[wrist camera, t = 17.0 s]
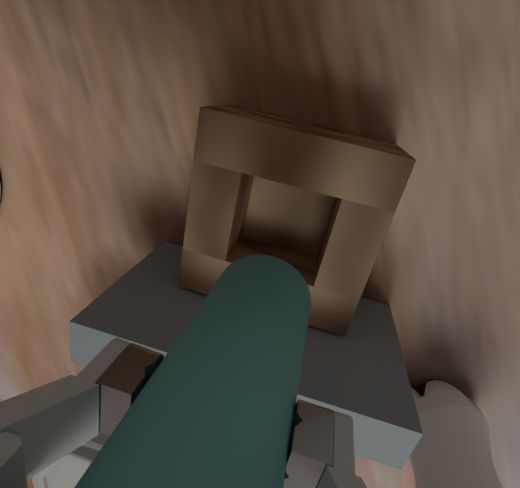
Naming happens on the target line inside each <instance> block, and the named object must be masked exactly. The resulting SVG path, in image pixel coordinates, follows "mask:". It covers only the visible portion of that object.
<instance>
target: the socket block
mask: <svg viewBox="0 0 520 488" xmlns="http://www.w3.org/2000/svg"><path fill="white" fill-rule="evenodd" d="M415 161H416V159H414V158H413V157H412V156H411V155H409V154H408V153H407V152H405V151H404V150H403V149H402V148H400V147H399V146H398V145H394V144H390V143H386V142H382V141H378V140H374V139H370V138H365V137H361V136H357V135H353V134H349V133H345V132H340V131H336V130H332V129H328V128H324V127H320V126H315V125H311V124H307V123H303V122H299V121H295V120H291V119H286V118H282V117H278V116H274V115H270V114H266V113H261V112H257V111H253V110H249V109H245V108H241V107H237V106H232V105H222V106H209V107H200V112H199V120H198V128H197V136H196V145H195V153H194V161H193V169H192V177H191V185H190V193H189V201H188V210H187V218H186V226H185V234H184V242H183V250H182V258H181V266H180V275H179V283H178V286H180V287H183V288H186V289H190V290H193V291H196V292H200V293H203V294H206V295H208V294H209V292H210V291H211V289H212V288H213V286H214V285H215V284H216V282H217V281H218V279H219V278H220V276H221V275H222V273H223V272H224V271H225V269H226V268H227V267H228V266H229V265H230V264H231V263H233V262H234V261H236V260H237V259H240V258H242V257H245V256H248V255H259V254H261V255H269V256H273V257H276V258H279V259H281V260H283V261H285V262H287V263H289V264H290V265H292V266H293V267H294V268H295V269H296V270H297V271H298V272H299V273H300V274H301V275H302V277H303V278H304V279H305V281H306V283H307V285H308V288H309V291H310V295H311V306H310V313H309V320H308V325H310V326H314V327H317V328H320V329H324V330H327V331H331V332H334V333H337V334H341V335H344V336H345V335H346V332H347V330H348V327H349V325H350V322H351V320H352V317H353V315H354V313H355V310H356V308H357V305H358V303H359V300H360V298H361V295H362V293H363V290H364V288H365V285H366V283H367V280H368V278H369V275H370V273H371V270H372V268H373V265H374V263H375V260H376V258H377V255H378V253H379V251H380V248H381V246H382V243H383V241H384V238H385V236H386V233H387V231H388V228H389V226H390V223H391V221H392V218H393V216H394V213H395V211H396V208H397V206H398V203H399V201H400V198H401V196H402V193H403V191H404V188H405V186H406V184H407V181H408V179H409V176H410V174H411V171H412V169H413V166H414V164H415Z"/></svg>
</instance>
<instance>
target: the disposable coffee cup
mask: <svg viewBox="0 0 520 488" xmlns="http://www.w3.org/2000/svg"><path fill="white" fill-rule="evenodd" d="M109 437H110V436H108V435H105V434H102V433H99V434H98V435H97V436H96V437H94V438H93V439H91V440H89V441H88V442H86V443H85V444H83V445H82V446H80V447H78V448H77V449H75V450H74V451H72V452H71V453H69V454H67V455H66V456H64V457H63V458H61V459H59V460H58V461H56V462H55V463H53V464H52V465H50V466H48V467H47V468H45V469H44V470H42V471H41V472H39V473H37V474H36V475H34V476H33V477H32V480H33V485H34V488H74V487H75V486H76V484H77V483H78V481H79V480H80V478H81V477H82V476H83V474H84V473H85V471H86V470H87V468H88V467H89V465H90V464H91V463H92V461H93V460H94V458H95V457H96V455H97V454H98V452H99V451H100V450H101V448H102V447H103V445H104V444H105V442H106V441H107V440H108V438H109Z"/></svg>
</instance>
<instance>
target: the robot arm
mask: <svg viewBox="0 0 520 488" xmlns="http://www.w3.org/2000/svg"><path fill="white" fill-rule="evenodd" d="M0 198H1V184H0ZM163 359H164V355H163V354H161V353H158V352H156V351H153V350H150V349H147V348H145V347H142V346H139V345H137V344H134V343H130V342H127V341H125V340H122V339H119V338H115V339H113V340H111V341H110V342H109V343H108V344H107V345H106V346H105V347H104V348H103V349H102V350H101V351H100V352H99V353H98V354H97V355H96V356H95V357H94V358H93V359H92V360H91V361H90V363H89V364H88V365H87V366H86V367H85V368H84V369H83V370H82V371H81V372H80V373H79V374H78V375H77V376H73V375H69V376H67V377H64V378H62V379H59V380H56V381H54V382H51V383H49V384H46V385H43V386H41V387H38V388H36V389H33V390H30V391H28V392H25V393H23V394H20V395H17V396H15V397H12V398H10V399H7V400H4V401H2V402H0V488H28V481H27V480H28V479H29V478H31V477H33V476H34V475H36V474H37V473H39V472H41V471H42V470H44V469H45V468H47V467H48V466H50V465H52V464H53V463H55V462H56V461H58V460H59V459H61V458H63V457H64V456H66V455H67V454H69V453H71V452H72V451H74V450H75V449H77V448H78V447H80V446H82V445H83V444H85V443H86V442H88V441H89V440H91V439H93V438H94V437H96V436H97V435H98V434H99V433H102V434H105V435H108V436H110V435H111V434H112V432H113V431H114V429H115V428H116V427H117V425H118V424H119V422H120V421H121V419H122V418H123V416H124V415H125V414H126V412H127V411H128V409H129V408H130V406H131V405H132V403H133V402H134V401H135V399H136V398H137V396H138V395H139V393H140V392H141V390H142V389H143V388H144V386H145V385H146V383H147V382H148V380H149V379H150V377H151V376H152V375H153V373H154V372H155V370H156V369H157V367H158V366H159V364H160V363H161V362H162V360H163ZM283 488H367V487H366V485H365V484H364V482H363V480H362V478H361V477H359V476H356V475H355V457H354V433H353V419H352V417H351V416H349V415H346V414H343V413H340V412H337V411H334V410H333V411H332V410H331V409H328V408H325V407H322V406H319V405H315V404H312V403H309V402H306V401H303V400H300V399H298V400H297V402H296V405H295V411H294V418H293V424H292V432H291V439H290V444H289V451H288V457H287V464H286V472H285V479H284V486H283Z"/></svg>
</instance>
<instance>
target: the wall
mask: <svg viewBox="0 0 520 488" xmlns="http://www.w3.org/2000/svg"><path fill="white" fill-rule="evenodd" d="M182 250H183V246H180V245H176V244H173V243H169V242H166V241H164V242H163V243H162V244H160V245H159V246H158V247H157V248H156V249H154V250H153V251H152V252H151V253H150V254H149V255H147V256H146V257H145V258H144V259H143V260H141V261H140V262H139V263H138V264H137V265H136V266H134V267H133V268H132V269H131V270H130V271H128V272H127V273H126V274H125V275H124V276H123V277H121V278H120V279H119V280H118V281H117V282H115V283H114V284H113V285H112V286H111V287H110V288H108V289H107V290H106V291H105V292H104V293H102V294H101V295H100V296H99V297H98V298H97V299H95V300H94V301H93V302H92V303H91V304H89V305H88V306H87V307H86V308H85V309H84V310H82V311H81V312H80V313H79V314H78V315H76V316H75V317H74V318H73V319H72V320H71V321H69V323H70V347H71V361H74V362H77V363H81V364H84V365H88V364H89V363H90V361H91V360H92V359H93V358H94V357H95V356H96V355H97V354H98V353H99V352H100V351H101V350H102V349H103V348H104V347H105V346H106V345H107V344H108V343H109V342H110V341H111V340H113V339H115V338H119V339H122V340H125V341H127V342H130V343H134V344H137V345H139V346H142V347H145V348H147V349H150V350H153V351H156V352H158V353H161V354H163V355H164V357H165V356H166V354H167V353H168V351H169V350H170V349H171V347H172V346H173V344H174V343H175V341H176V340H177V338H178V337H179V336H180V334H181V333H182V331H183V330H184V328H185V327H186V325H187V324H188V323H189V321H190V320H191V318H192V317H193V315H194V314H195V312H196V311H197V310H198V308H199V307H200V305H201V304H202V302H203V301H204V299H205V298H206V297H207V295H206V294H203V293H200V292H196V291H193V290H190V289H186V288H183V287H180V286H178V283H179V275H180V266H181V258H182ZM298 399H300V400H303V401H306V402H309V403H312V404H315V405H319V406H322V407H325V408H328V409H331V410H332V411H333V410H334V411H337V412H340V413H343V414H346V415H349V416H351V417H352V419H353V433H354V454H355V455H359V456H362V457H365V458H368V459H371V460H374V461H377V462H380V463H383V464H386V465H389V466H392V467H395V468H398V469H402V467H403V465H404V464H405V462H406V461H407V459H408V457H409V456H410V454H411V453H412V451H413V450H414V448H415V446H416V445H417V443H418V442H419V440H420V438H421V437H422V435H423V432H422V428H421V424H420V420H419V417H418V413H417V409H416V405H415V401H414V397H413V394H412V390H411V386H410V382H409V378H408V374H407V371H406V367H405V363H404V359H403V355H402V351H401V348H400V344H399V340H398V336H397V332H396V328H395V325H394V321H393V317H392V313H391V309H390V305H386V304H383V303H379V302H376V301H372V300H369V299H365V298H362V297H361V298H360V300H359V303H358V305H357V308H356V310H355V313H354V315H353V317H352V320H351V322H350V325H349V327H348V330H347V332H346V335H345V336H344V335H341V334H337V333H334V332H331V331H327V330H324V329H320V328H317V327H314V326H310V325H308V326H307V333H306V340H305V346H304V353H303V359H302V366H301V373H300V379H299V386H298V393H297V399H296V402H297V400H298Z"/></svg>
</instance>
